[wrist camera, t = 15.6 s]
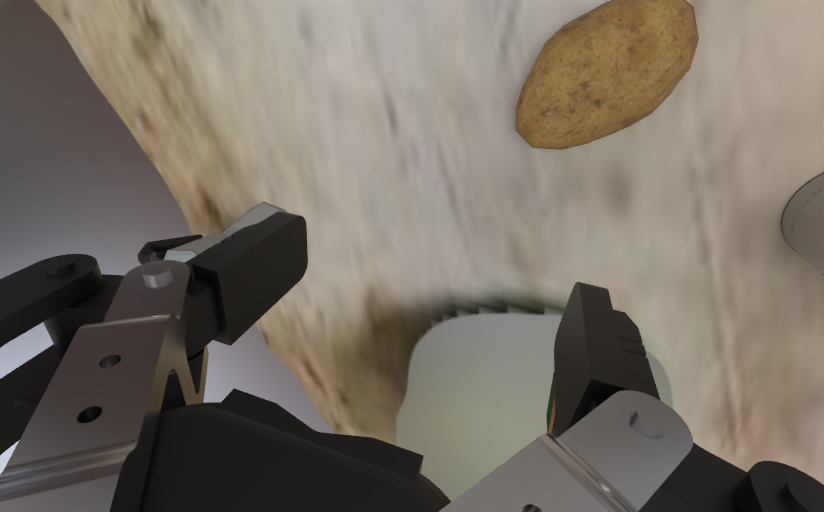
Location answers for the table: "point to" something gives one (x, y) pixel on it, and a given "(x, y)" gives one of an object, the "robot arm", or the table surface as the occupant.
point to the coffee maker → (195, 244)
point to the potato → (606, 71)
